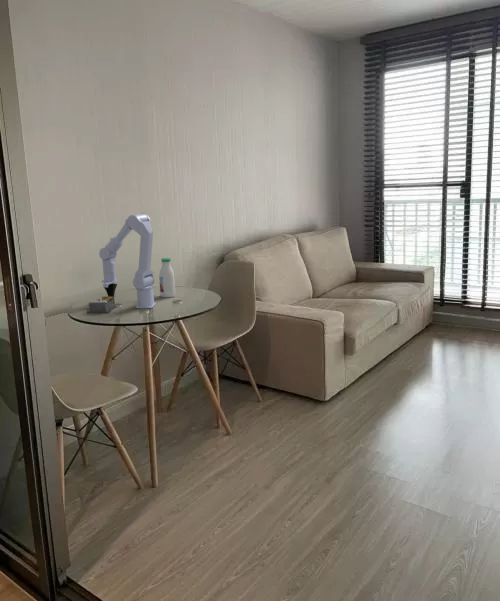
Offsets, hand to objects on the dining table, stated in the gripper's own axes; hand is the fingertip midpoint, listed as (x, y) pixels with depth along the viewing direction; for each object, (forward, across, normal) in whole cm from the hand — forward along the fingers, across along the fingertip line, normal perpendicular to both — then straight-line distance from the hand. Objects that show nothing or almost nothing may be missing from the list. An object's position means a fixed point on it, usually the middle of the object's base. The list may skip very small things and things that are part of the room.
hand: (111, 298), depth 269 cm
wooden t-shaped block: (+2, +9, 0) cm, 9 cm away
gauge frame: (+2, +14, 0) cm, 14 cm away
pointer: (+1, +17, 0) cm, 17 cm away
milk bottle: (+2, -15, +25) cm, 29 cm away
